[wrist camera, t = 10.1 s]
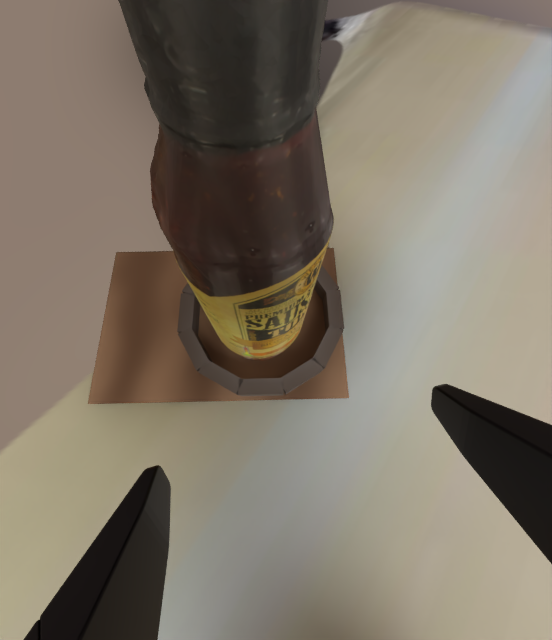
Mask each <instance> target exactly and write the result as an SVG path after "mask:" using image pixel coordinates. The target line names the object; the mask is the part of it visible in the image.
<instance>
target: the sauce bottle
mask: <svg viewBox="0 0 552 640" xmlns="http://www.w3.org/2000/svg"><path fill="white" fill-rule="evenodd" d="M118 1H119V3H120V6H121V8H122V11H123V15H124V18H125V21H126V23H127V27H128V29H129V33H130V35H131V39H132V42H133V44H134V47H135V51H136V53H137V56H138V59H139V62H140V64H141V67H142V69H143V72H144V74H145V76H146V78H145V84H144V86H145V91H146V93H147V96H148V98H149V101H150V104H151V107H152V109H153V111H154V113H155V115H156V117H157V119H158V121H159V123H160V124H159V135H158V140H157V143H156V146H155V151H154V157H153V160H152V163H151V168H150V174H151V191H152V203H153V208H154V210H155V213H156V216H157V219H158V221H159V224H160V227H161V229H162V230H163V233H164V235H165V236H166V238H167V240H168V241H169V244H170V245H171V247H172V249H173V251H174V255H175V258H176V262H177V264H178V266H179V268H180V270H181V272H182V273H183V275H184V277H185V278H186V280H187V282H188V284H189V285H190V287H191V289H192V290H193V292H194V294H195V296H196V297H197V299H198V301H199V303H200V305H201V306H202V308H203V310H204V312H205V313H206V315H207V317H208V319H209V321H210V322H211V324H212V326H213V328H214V330H215V331H216V333H217V335H218V336H219V338H220V340H221V341H222V342H223V343H224V344H225V345H226V346H227V347H228V348H229V349H230V350H231V351H232V352H233V353H234V354H236V355H238V356H240V357H242V358H245V359H250V360H260V361H263V360H267V359H270V358H273V357H275V356H277V355H278V354H280V353H282V352H284V351H285V350H286V349H287V348H288V347H289V346H290V345H291V344H292V343H293V342H294V340H295V339H296V338H297V336H298V334H299V333H300V330H301V327H302V324H303V321H304V318H305V315H306V312H307V308H308V305H309V302H310V300H311V296H312V293H313V290H314V287H315V284H316V281H317V277H318V274H319V271H320V268H321V265H322V262H323V259H324V256H325V253H326V250H327V246H328V243H329V240H330V236H331V233H332V229H333V219H334V218H333V213H332V209H331V205H330V198H329V191H328V185H327V178H326V171H325V164H324V158H323V151H322V144H321V137H320V131H319V124H318V117H317V111H316V106H317V103H318V101H319V91H320V78H319V60H320V52H321V42H322V35H323V29H324V21H325V15H326V11H327V4H328V0H118Z"/></svg>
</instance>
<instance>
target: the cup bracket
mask: <svg viewBox="0 0 552 640" xmlns="http://www.w3.org/2000/svg"><path fill="white" fill-rule="evenodd" d="M338 289H339V287H338V286H337V277H336V267H335V258H334V248H327V250H326V253H325V256H324V259H323V262H322V265H321V268H320V271H319V274H318V277H317V281H316V284H315V287H314V290H313V293H312V296H311V300H310V302H309V305H308V308H307V312H306V315H305V318H304V321H303V324H302V327H301V330H300V333H299V334H298V336H297V338H296V339H295V340H294V342H293V343H292V344H291V345H290V346H289V347H288V348H287V349H286V350H285V351H284V352H282V353H280V354H278V355H277V356H275V357H273V358H270V359H267V360H263V361H260V360H250V359H245V358H242V357H240V356H238V355H236V354H234V353H233V352H232V351H231V350H230V349H229V348H228V347H227V346H226V345H225V344H224V343H223V342H222V341H221V340H220V338H219V336H218V335H217V333H216V331H215V330H214V328H213V326H212V324H211V322H210V321H209V319H208V317H207V315H206V313H205V312H204V310H203V308H202V306H201V305H200V303H199V301H198V299H197V297H196V296H195V294H194V292H193V290H192V289H191V287H190V285H189V284H188V282H187V280H186V278H185V277H184V275H183V273H182V272H181V270H180V268H179V266H178V264H177V262H176V258H175V255H174V251H162V252H161V251H159V252H117V253H116V257H115V262H114V268H113V273H112V279H111V284H110V289H109V294H108V300H107V305H106V310H105V315H104V321H103V326H102V331H101V337H100V342H99V347H98V352H97V358H96V364H95V368H94V374H93V379H92V384H91V390H90V395H89V400H88V404H105V403H149V402H193V401H237V400H282V399H326V398H349V394H348V385H347V375H346V365H345V355H344V346H343V336H342V333H343V329H344V324H343V314H342V305H341V295H340V290H338Z"/></svg>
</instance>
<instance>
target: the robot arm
mask: <svg viewBox="0 0 552 640" xmlns="http://www.w3.org/2000/svg"><path fill="white" fill-rule="evenodd" d="M431 407H432V410H433V412H434V414H435V415H436V417H437V418H438V420H439V421H440V423H441V424H442V426H443V427H444V429H445V430H446V432H447V433H448V435H449V436H450V437H451V439H452V440H453V442H454V443H455V445H456V446H457V448H458V449H459V451H460V452H461V453H462V455H463V456H464V457H465V459H466V460H467V461H468V462H469V464H470V465H471V466H472V467H473V469H474V470H475V471H476V472H477V473H478V475H479V476H480V477H481V478H482V479H483V481H484V482H485V483H486V484H487V486H488V487H489V488H490V489H491V490H492V492H493V493H494V494H495V495H496V497H497V498H498V499H499V500H500V501H501V503H502V504H503V505H504V506H505V508H506V509H507V510H508V511H509V512H510V514H511V515H512V516H513V517H514V519H515V520H516V521H517V522H518V523H519V525H520V526H521V527H522V528H523V530H524V531H525V532H526V533H527V534H528V536H529V537H530V538H531V539H532V540H533V542H534V543H535V544H536V545H537V547H538V548H539V549H540V550H541V551H542V553H543V554H544V555H545V556H546V558H547V559H548V560H549V561H550V562H551V564H552V425H550V424H548V423H545V422H543V421H540V420H538V419H535V418H532V417H530V416H527V415H525V414H522V413H520V412H517V411H515V410H512V409H509V408H507V407H504V406H502V405H499V404H497V403H494V402H492V401H489V400H486V399H484V398H481V397H479V396H476V395H474V394H471V393H469V392H466V391H464V390H461V389H458V388H456V387H453V386H451V385H448V384H442V385H438V386H435V387H434V388H433V390H432V400H431ZM170 496H171V487H170V482H169V480H168V478H167V476H166V475H165V473H164V471H163V469H162V468H161V466H159V465H158V466H154V467H150V468H147V469H145V470H144V471H143V473H142V474H141V475H140V477H139V478H138V480H137V481H136V482H135V484H134V485H133V487H132V488H131V489H130V491H129V492H128V494H127V495H126V496H125V498H124V499H123V501H122V502H121V504H120V505H119V506H118V508H117V509H116V511H115V512H114V513H113V515H112V516H111V518H110V519H109V520H108V522H107V523H106V525H105V526H104V527H103V529H102V530H101V532H100V533H99V534H98V536H97V537H96V539H95V540H94V541H93V543H92V544H91V546H90V547H89V549H88V550H87V551H86V553H85V554H84V556H83V557H82V558H81V560H80V561H79V563H78V564H77V565H76V567H75V568H74V570H73V571H72V572H71V574H70V575H69V577H68V578H67V579H66V581H65V582H64V584H63V585H62V586H61V588H60V589H59V591H58V592H57V593H56V595H55V596H54V598H53V599H52V601H51V602H50V603H49V605H48V606H47V608H46V609H45V610H44V612H43V613H42V615H41V616H40V620H38V621H36V623H35V624H34V626H33V627H32V628H31V630H30V631H29V633H28V634H27V635H26V637H25V638H24V640H157V639H158V631H159V623H160V615H161V607H162V599H163V591H164V583H165V575H166V567H167V559H168V550H169V534H170Z"/></svg>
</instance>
